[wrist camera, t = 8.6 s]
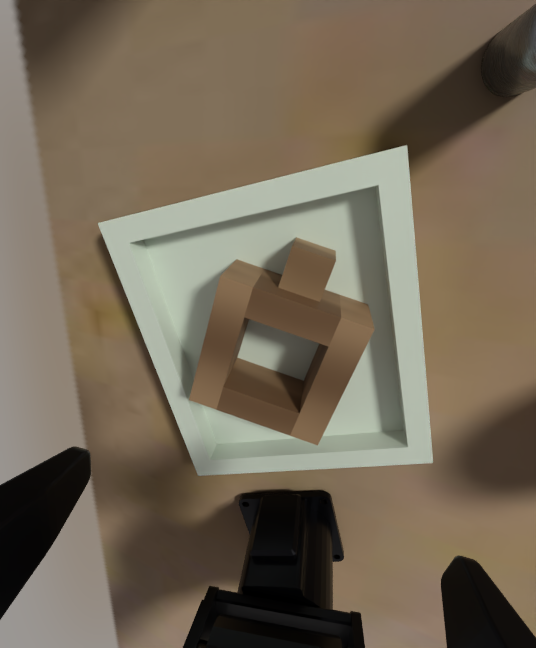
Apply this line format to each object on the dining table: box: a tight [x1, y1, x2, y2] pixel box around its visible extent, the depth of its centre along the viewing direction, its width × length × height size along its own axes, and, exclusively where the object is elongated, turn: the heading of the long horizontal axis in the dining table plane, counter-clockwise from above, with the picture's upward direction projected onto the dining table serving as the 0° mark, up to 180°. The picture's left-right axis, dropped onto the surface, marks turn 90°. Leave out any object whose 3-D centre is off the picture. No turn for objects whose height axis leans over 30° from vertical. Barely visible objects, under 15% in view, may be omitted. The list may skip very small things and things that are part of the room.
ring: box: [189, 237, 375, 445], centre depth 18 cm, size 9×7×3 cm
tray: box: [98, 145, 433, 476], centre depth 19 cm, size 16×14×2 cm
